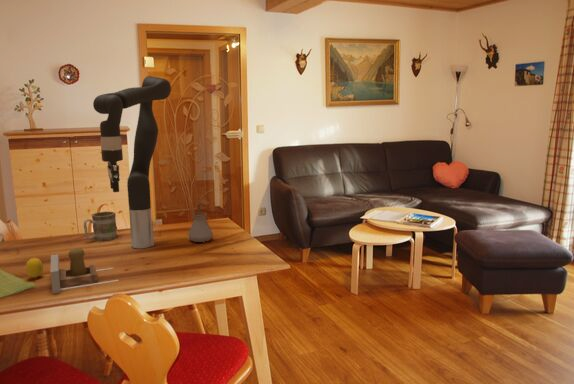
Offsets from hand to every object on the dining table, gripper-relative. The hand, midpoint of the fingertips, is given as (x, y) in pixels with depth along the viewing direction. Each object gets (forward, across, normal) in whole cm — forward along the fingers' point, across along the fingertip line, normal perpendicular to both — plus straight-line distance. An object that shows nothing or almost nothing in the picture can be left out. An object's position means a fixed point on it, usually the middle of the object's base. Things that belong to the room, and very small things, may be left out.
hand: (114, 190), depth 183 cm
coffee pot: (+30, -23, +39) cm, 54 cm away
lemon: (+30, +2, -30) cm, 43 cm away
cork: (+29, +12, -16) cm, 35 cm away
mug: (+30, -41, -4) cm, 51 cm away
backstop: (+30, +12, -13) cm, 35 cm away
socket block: (+30, +12, -16) cm, 36 cm away
